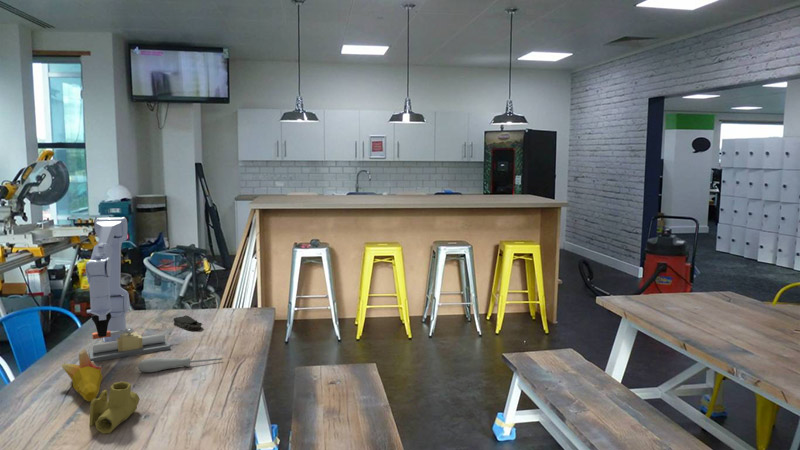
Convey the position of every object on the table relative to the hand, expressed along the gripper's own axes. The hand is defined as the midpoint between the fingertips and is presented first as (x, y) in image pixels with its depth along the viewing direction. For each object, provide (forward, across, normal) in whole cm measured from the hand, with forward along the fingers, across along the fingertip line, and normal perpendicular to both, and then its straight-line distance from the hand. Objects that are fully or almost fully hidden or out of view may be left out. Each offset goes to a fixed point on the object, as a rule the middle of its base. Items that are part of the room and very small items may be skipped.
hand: (102, 336), depth 180 cm
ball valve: (+8, +51, -2) cm, 52 cm away
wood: (+8, -23, +30) cm, 39 cm away
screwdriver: (+8, +22, +20) cm, 31 cm away
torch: (+8, +28, -7) cm, 29 cm away
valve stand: (+7, -2, +8) cm, 11 cm away
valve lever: (+1, -2, +3) cm, 4 cm away
